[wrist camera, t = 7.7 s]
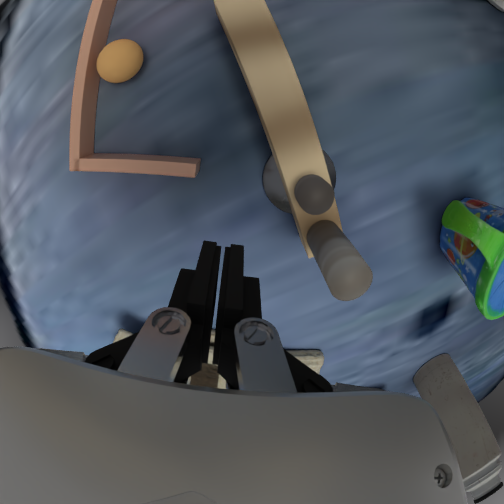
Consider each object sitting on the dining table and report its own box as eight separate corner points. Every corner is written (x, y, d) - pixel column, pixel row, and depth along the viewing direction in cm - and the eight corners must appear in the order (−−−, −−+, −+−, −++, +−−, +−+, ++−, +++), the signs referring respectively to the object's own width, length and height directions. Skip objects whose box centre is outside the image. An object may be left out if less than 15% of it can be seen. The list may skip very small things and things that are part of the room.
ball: (102, 45, 14) (99, 34, 12) (145, 44, 16) (149, 34, 13) (95, 85, 16) (90, 81, 13) (138, 84, 18) (140, 80, 15)
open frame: (111, -13, 12) (100, -22, 10) (232, -20, 13) (232, -33, 11) (84, 164, 20) (69, 170, 18) (199, 170, 21) (194, 177, 19)
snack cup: (501, 226, 25) (551, 264, 16) (459, 287, 29) (501, 336, 20) (451, 147, 20) (527, 176, 11) (396, 229, 24) (458, 289, 15)
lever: (216, 14, 14) (203, -44, 6) (255, 3, 14) (266, -57, 6) (301, 240, 23) (330, 309, 15) (333, 229, 23) (377, 291, 15)
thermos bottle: (422, 386, 40) (470, 503, 15) (406, 378, 37) (459, 515, 13) (454, 359, 37) (513, 476, 12) (442, 348, 35) (510, 484, 10)
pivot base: (269, 135, 20) (270, 136, 20) (341, 150, 21) (343, 151, 20) (257, 207, 23) (257, 208, 22) (325, 217, 23) (326, 219, 23)
